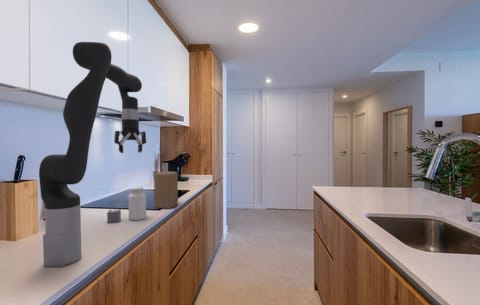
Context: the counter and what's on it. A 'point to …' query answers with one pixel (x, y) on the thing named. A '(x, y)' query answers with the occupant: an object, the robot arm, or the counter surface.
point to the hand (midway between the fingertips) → (130, 152)
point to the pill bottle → (137, 204)
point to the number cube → (114, 216)
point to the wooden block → (166, 189)
